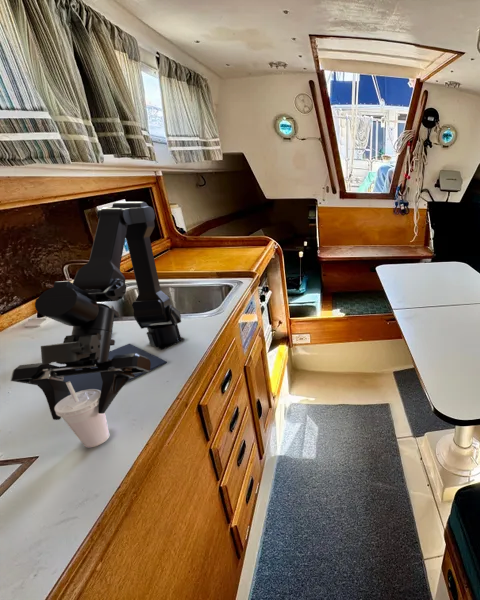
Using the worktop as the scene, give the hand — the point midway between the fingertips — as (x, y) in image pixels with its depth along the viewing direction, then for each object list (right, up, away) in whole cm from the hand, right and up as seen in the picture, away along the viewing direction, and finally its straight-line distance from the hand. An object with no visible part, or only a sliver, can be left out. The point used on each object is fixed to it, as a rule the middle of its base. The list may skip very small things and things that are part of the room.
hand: (79, 416), depth 58 cm
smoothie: (-1, -6, +4) cm, 7 cm away
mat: (-16, +3, +23) cm, 29 cm away
